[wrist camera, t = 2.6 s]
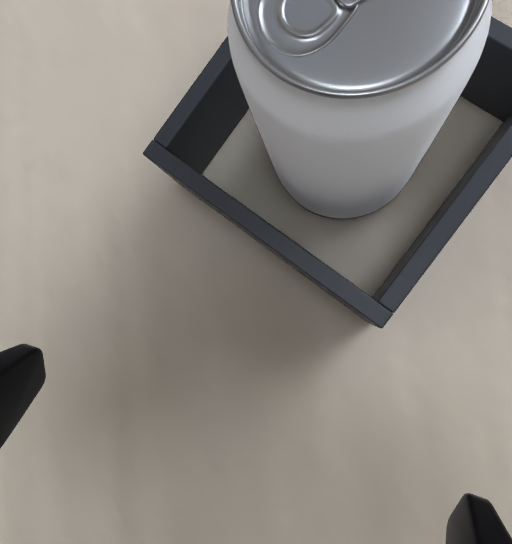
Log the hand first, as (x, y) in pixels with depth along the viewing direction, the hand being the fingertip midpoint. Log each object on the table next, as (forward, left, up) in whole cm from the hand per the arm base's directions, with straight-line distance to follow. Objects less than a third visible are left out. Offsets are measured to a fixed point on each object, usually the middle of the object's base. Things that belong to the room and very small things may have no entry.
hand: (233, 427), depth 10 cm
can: (+9, +4, -12) cm, 16 cm away
